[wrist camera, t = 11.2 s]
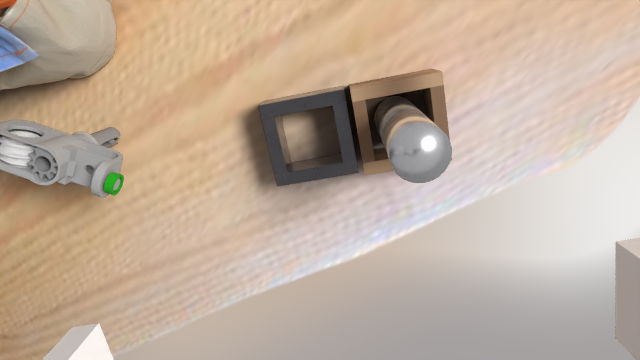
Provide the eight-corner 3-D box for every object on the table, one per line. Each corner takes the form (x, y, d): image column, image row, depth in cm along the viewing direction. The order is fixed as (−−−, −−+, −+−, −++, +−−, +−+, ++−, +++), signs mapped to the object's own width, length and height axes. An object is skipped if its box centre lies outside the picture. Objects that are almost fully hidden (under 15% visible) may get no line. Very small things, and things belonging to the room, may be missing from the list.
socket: (281, 176, 40) (277, 186, 37) (264, 100, 38) (258, 105, 35) (357, 163, 39) (358, 172, 36) (343, 85, 37) (343, 89, 34)
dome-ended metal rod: (378, 140, 39) (394, 187, 26) (371, 100, 38) (385, 129, 25) (418, 133, 38) (454, 177, 26) (413, 92, 37) (448, 118, 25)
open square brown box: (362, 162, 39) (364, 175, 35) (349, 84, 37) (350, 89, 33) (441, 148, 39) (451, 160, 35) (431, 68, 37) (442, 71, 33)
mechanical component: (162, 169, 40) (106, 208, 31) (55, 131, 40) (-35, 159, 30) (170, 139, 40) (114, 170, 30) (60, 101, 39) (-32, 120, 29)
